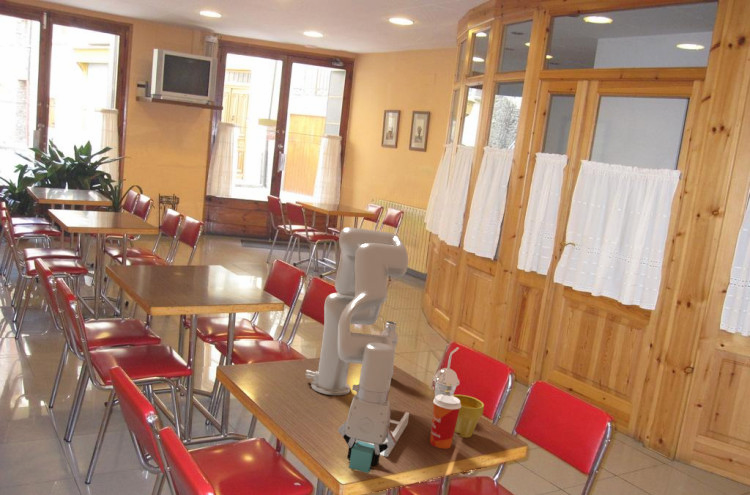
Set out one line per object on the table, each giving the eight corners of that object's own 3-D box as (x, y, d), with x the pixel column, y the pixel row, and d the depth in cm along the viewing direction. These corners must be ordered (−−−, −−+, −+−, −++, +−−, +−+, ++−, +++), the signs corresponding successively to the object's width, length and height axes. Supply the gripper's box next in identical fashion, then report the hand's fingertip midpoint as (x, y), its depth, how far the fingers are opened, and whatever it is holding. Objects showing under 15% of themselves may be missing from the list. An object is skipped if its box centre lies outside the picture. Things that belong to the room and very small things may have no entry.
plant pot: (482, 432, 194) (488, 401, 192) (473, 444, 184) (479, 411, 183) (449, 422, 198) (454, 391, 196) (438, 433, 188) (444, 400, 187)
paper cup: (425, 439, 182) (433, 391, 180) (452, 443, 182) (460, 396, 180) (426, 451, 174) (434, 402, 173) (455, 456, 174) (463, 406, 173)
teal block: (354, 459, 164) (348, 467, 159) (357, 440, 163) (351, 448, 158) (373, 464, 163) (368, 473, 158) (376, 445, 162) (371, 453, 157)
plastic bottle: (379, 381, 225) (387, 325, 222) (370, 374, 231) (378, 319, 228) (395, 381, 228) (404, 325, 225) (386, 374, 234) (394, 320, 231)
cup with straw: (422, 406, 207) (432, 345, 205) (444, 404, 212) (454, 345, 210) (438, 417, 200) (449, 354, 198) (461, 414, 205) (471, 353, 203)
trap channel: (349, 451, 168) (352, 434, 167) (373, 419, 191) (376, 404, 190) (387, 461, 166) (389, 444, 165) (406, 427, 189) (409, 412, 188)
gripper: (335, 390, 157) (325, 461, 160) (403, 407, 153) (392, 479, 156) (344, 381, 165) (334, 449, 167) (410, 397, 161) (399, 466, 163)
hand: (362, 463), depth 161 cm, fingers closed on teal block, 4 cm apart
